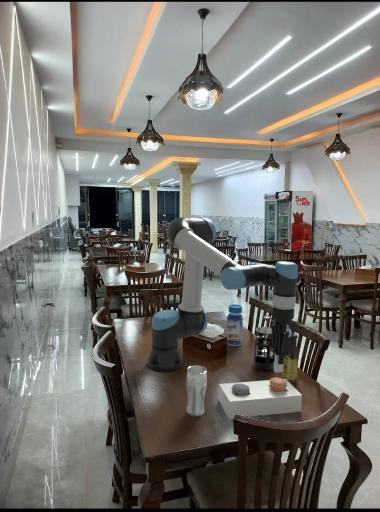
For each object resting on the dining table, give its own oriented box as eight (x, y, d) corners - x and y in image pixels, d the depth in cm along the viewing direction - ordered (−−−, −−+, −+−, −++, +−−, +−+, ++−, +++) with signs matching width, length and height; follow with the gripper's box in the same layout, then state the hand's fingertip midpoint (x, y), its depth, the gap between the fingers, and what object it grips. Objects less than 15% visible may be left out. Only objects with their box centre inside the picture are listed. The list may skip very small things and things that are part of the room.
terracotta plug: (273, 403, 124) (274, 386, 123) (265, 395, 130) (266, 378, 129) (289, 402, 125) (290, 384, 125) (281, 393, 131) (282, 377, 130)
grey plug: (234, 410, 121) (235, 392, 120) (229, 401, 127) (229, 384, 126) (251, 409, 123) (252, 391, 122) (245, 400, 128) (245, 382, 128)
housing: (229, 418, 118) (229, 401, 117) (218, 399, 129) (219, 384, 129) (300, 411, 123) (302, 395, 123) (284, 394, 135) (285, 378, 134)
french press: (278, 372, 154) (281, 320, 151) (257, 372, 152) (260, 320, 149) (268, 360, 165) (271, 312, 162) (248, 361, 164) (251, 312, 161)
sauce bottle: (279, 376, 150) (282, 330, 147) (294, 376, 149) (297, 331, 147) (282, 383, 143) (286, 336, 141) (298, 384, 143) (302, 336, 140)
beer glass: (184, 406, 125) (185, 365, 123) (204, 405, 125) (205, 364, 123) (185, 417, 118) (187, 374, 116) (206, 417, 118) (208, 374, 116)
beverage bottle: (245, 344, 184) (247, 306, 181) (232, 347, 179) (234, 309, 177) (234, 339, 191) (236, 303, 188) (222, 342, 186) (223, 304, 184)
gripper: (303, 312, 118) (297, 379, 121) (284, 301, 131) (279, 362, 134) (282, 312, 116) (276, 380, 120) (265, 301, 129) (260, 363, 132)
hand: (278, 371), depth 127 cm, fingers closed
